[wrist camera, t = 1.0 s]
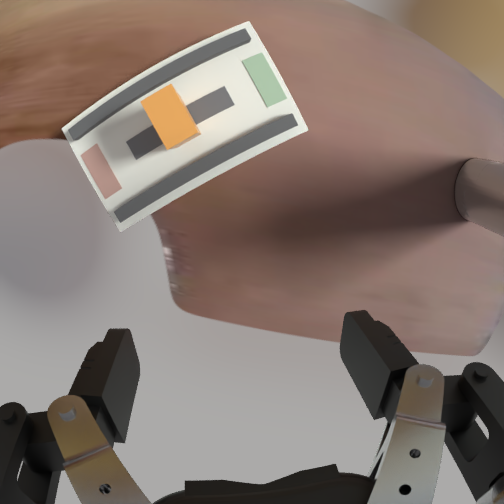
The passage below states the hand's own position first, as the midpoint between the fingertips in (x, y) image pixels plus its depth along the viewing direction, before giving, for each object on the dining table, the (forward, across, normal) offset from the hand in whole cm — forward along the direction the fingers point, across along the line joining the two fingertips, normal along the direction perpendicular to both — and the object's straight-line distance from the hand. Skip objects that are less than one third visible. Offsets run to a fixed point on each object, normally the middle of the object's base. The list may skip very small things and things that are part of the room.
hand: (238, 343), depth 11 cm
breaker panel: (+23, +4, -9) cm, 25 cm away
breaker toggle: (+19, +4, -9) cm, 21 cm away
